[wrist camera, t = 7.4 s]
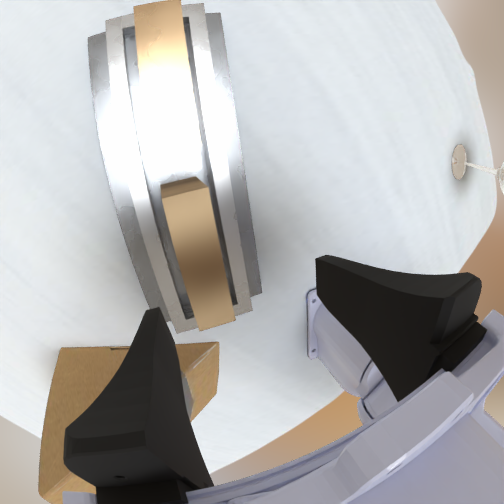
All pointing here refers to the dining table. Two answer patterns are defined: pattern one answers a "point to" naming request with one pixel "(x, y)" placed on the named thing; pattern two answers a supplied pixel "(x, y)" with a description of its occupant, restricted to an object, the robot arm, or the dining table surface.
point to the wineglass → (460, 166)
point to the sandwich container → (90, 387)
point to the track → (169, 163)
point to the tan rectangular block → (198, 250)
